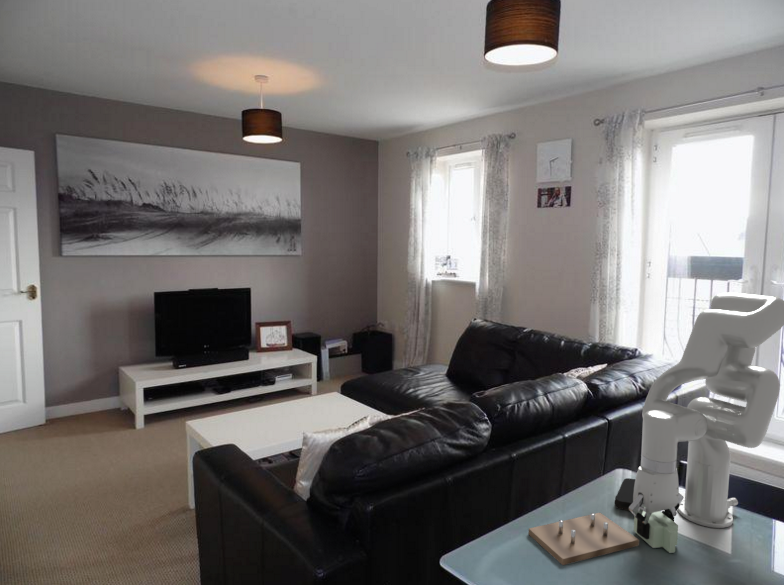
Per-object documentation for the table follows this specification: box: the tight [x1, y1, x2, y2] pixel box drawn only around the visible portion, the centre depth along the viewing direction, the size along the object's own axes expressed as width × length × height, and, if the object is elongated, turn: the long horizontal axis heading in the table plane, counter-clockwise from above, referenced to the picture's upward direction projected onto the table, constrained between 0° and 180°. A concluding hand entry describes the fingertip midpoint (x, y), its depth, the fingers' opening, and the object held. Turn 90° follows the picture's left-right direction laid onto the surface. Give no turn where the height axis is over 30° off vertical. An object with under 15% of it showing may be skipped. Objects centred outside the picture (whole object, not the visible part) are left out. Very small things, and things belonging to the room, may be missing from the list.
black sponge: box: [613, 478, 636, 511], centre depth 146 cm, size 16×8×4 cm, turn 147°
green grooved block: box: [633, 507, 679, 554], centre depth 127 cm, size 12×6×5 cm, turn 10°
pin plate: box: [527, 512, 640, 566], centre depth 127 cm, size 22×13×4 cm, turn 110°
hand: (655, 532), depth 127 cm, fingers closed on green grooved block, 7 cm apart
